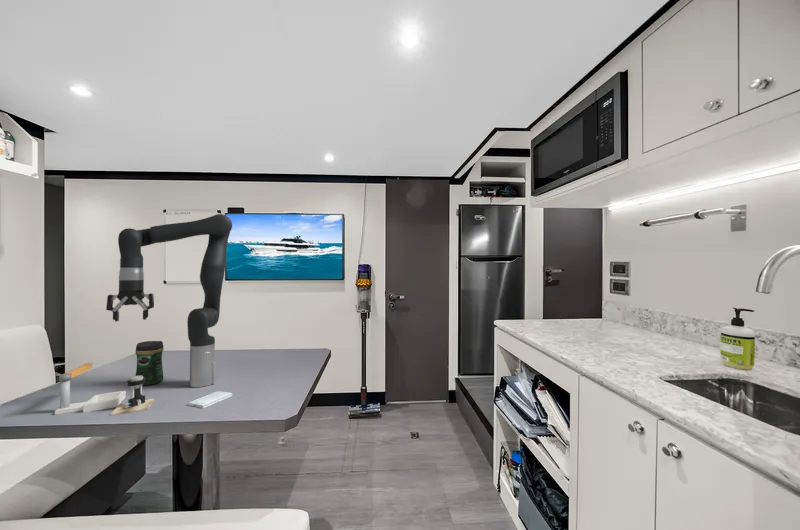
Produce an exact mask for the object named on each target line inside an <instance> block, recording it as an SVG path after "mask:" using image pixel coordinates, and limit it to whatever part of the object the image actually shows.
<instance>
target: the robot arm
mask: <svg viewBox="0 0 800 530" xmlns="http://www.w3.org/2000/svg"><path fill="white" fill-rule="evenodd" d="M232 229H233V222H232V219H230V217H228V216H227V215H225V214H223V213H222V214H221V213H220V214H219V213H216V214H214V215H211V216H209V217H205V218H202V219H197V220H191V221H183V222H175V223H167V224H160V225H153V226H150V228H145V229H144V228H143V229H135V228H131V227H129V228H124V229H122V230H121V231H120V232H119V234H118V238H117V239H118V241H117V242H118V250H119V254H120V260H119V272H118V293H117V294H108V295H107V298H106V308H105V310H106V311H110V312H112V320H113V321H114V322H119V320H120V311H119V310H120V309H121V308H122V307H123V306H129V305H130V306H136V305H138V306H139V307H141V308H142V309H143V310H142V320H143V321H145V320H147V318H148V317H149V310H150V309H153V308H155V298H154V297H155V295H154V293H152V292H151V293H145V292H144V283H145V281H144V280H145V274H144V272H145V271H144V256H143V254H142V247H145V246H146V247H147V246H150V245H155V244H159V243H166V242H168V243H169V242H173V241H178V240H183V239H187V238H192V237H197V236H205V235H208V242H207V247H206V250H205V252H204V255H203V258H202V262H201V267H200V272H199V281H200V285H201V286H202V290H203V294H204V302H203V306H202V307H200V308H199V307H198V308H194V309H192V310H191V311H190V312H189V313H188V316H187V320H186V321H187V322H186V323H187V337H188V338H187V339H188V340H189V387H191V388H203V387H207V386H210V385H215V382H216V375H215V374H216V360H215V358H216V357H215V356H216V355H215V353H216V351H215V350H216V349H215V347H216V339H215V336H213V335H210V334H209V328H212V327H215V326H216V325H217V324H218V322H219V319H220V309H221V297H222V296H221V294H222V289H223V281H224V278H225V272H226V263H227V262H226V261H227V245H228V242H229V237H230V234H231V231H232ZM116 298H117V299H118V300H119V302H118V303H117V304H116V306H114V307H113V305H114V301H115V300H116ZM145 298H146V299H147V300H148V305H147V304H146V303H145V301H143V299H145Z"/></svg>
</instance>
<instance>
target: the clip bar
mask: <svg viewBox="0 0 800 530" xmlns="http://www.w3.org/2000/svg"><path fill="white" fill-rule="evenodd" d="M92 368H93V362H86V363H84V364H82V365H79V366H77V367H75V368H73V369H71V370H69V371H67V372H65V373H62V374H59V376H58V377H59V382H61V381H68V380H70V381H71V380H72V379H73V378H75V377H77V376H79V375H81V374H83V373H85V372H86V371H88V370H91V369H92Z"/></svg>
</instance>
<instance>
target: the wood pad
mask: <svg viewBox="0 0 800 530" xmlns="http://www.w3.org/2000/svg"><path fill="white" fill-rule="evenodd" d="M154 401H155V399H154V398H148V399H145V403H142V404H140V405H137V406H134V407H127V406H128V405H127V403H128V402H121V403H120V404H119V405H118V406H117V407H115V409H114V410H112V412H111V413H110V416H116V415H117V416H118V415H122V414H128V413H129V414H130V413H134V412H140V411H147V410H149V409H150V406H151V405H152V404H153V402H154ZM125 404H126V405H125ZM124 407H127V408H124Z"/></svg>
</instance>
